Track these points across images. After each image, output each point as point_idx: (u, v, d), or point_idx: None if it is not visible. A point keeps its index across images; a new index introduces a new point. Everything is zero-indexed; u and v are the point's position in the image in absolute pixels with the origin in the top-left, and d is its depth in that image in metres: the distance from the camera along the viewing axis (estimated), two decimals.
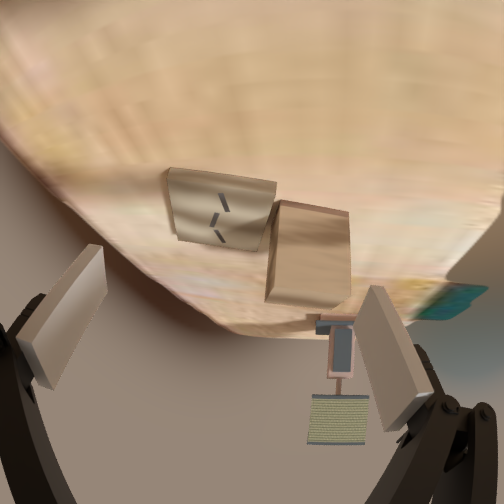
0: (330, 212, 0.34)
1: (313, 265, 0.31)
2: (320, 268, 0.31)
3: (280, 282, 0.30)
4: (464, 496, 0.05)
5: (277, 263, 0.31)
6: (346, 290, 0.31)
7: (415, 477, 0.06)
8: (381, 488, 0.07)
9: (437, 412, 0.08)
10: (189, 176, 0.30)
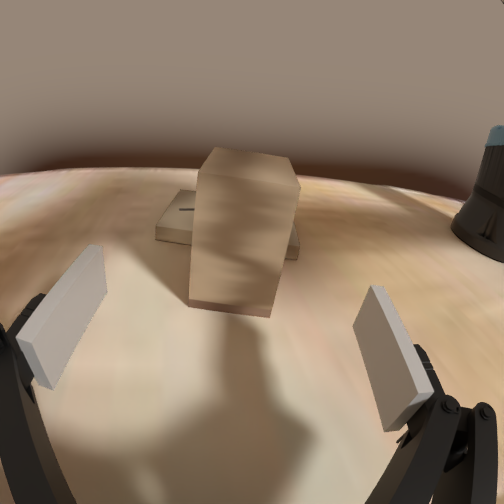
0: None
1: None
2: None
3: None
4: (464, 496, 0.05)
5: None
6: None
7: (415, 477, 0.06)
8: (381, 488, 0.07)
9: (437, 412, 0.08)
10: None
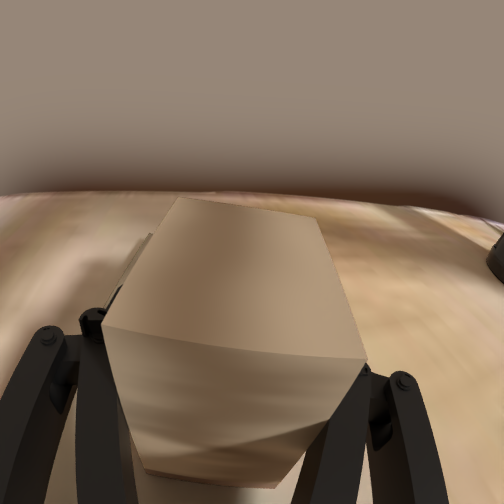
0: None
1: None
2: None
3: None
4: (403, 478, 0.06)
5: None
6: None
7: (336, 452, 0.07)
8: (307, 466, 0.08)
9: None
10: None
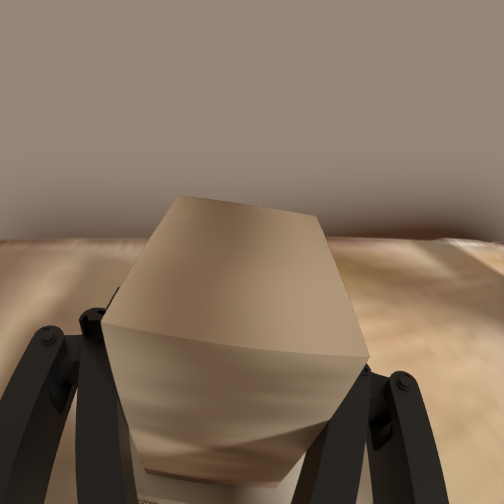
0: None
1: None
2: None
3: None
4: (403, 477, 0.06)
5: None
6: None
7: (336, 452, 0.07)
8: (307, 466, 0.08)
9: None
10: None
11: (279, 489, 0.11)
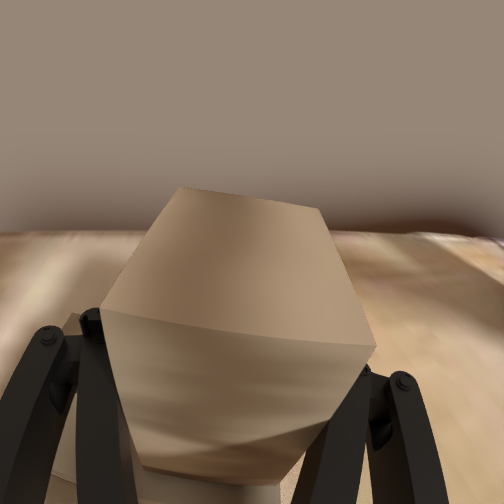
0: None
1: None
2: None
3: None
4: (403, 477, 0.06)
5: None
6: None
7: (336, 452, 0.07)
8: (307, 467, 0.08)
9: None
10: None
11: (143, 477, 0.11)
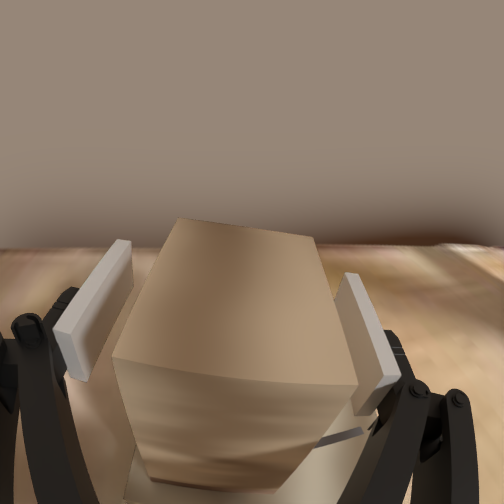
0: None
1: None
2: None
3: None
4: (443, 487, 0.06)
5: None
6: None
7: (388, 466, 0.06)
8: (355, 478, 0.07)
9: (405, 397, 0.09)
10: None
11: (285, 498, 0.12)
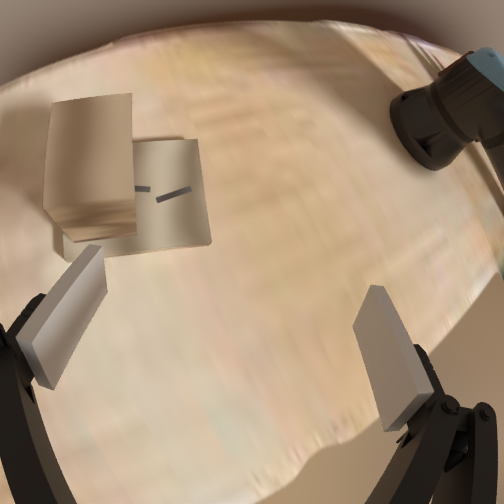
0: None
1: None
2: None
3: None
4: (464, 495, 0.05)
5: None
6: None
7: (415, 477, 0.06)
8: (381, 488, 0.07)
9: (437, 412, 0.08)
10: None
11: (143, 237, 0.27)
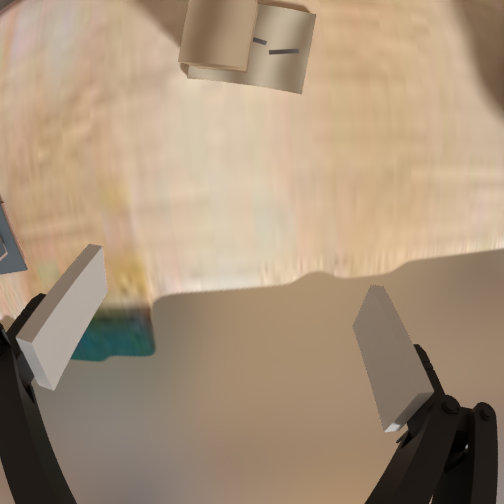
0: (249, 56, 0.31)
1: (251, 31, 0.24)
2: (250, 37, 0.25)
3: None
4: (464, 496, 0.05)
5: None
6: (244, 62, 0.24)
7: (415, 477, 0.06)
8: (381, 488, 0.07)
9: (437, 412, 0.08)
10: (312, 30, 0.30)
11: (251, 76, 0.33)
